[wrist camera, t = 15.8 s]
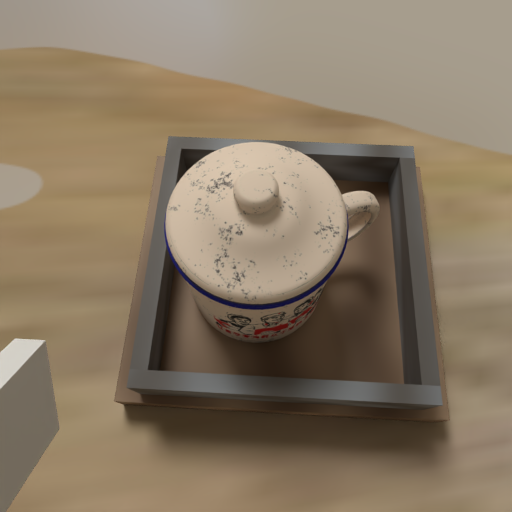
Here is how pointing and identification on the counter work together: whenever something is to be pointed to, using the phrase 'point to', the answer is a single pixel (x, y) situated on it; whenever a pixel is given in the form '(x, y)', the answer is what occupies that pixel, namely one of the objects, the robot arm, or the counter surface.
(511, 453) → the counter surface
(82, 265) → the counter surface
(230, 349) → the collar stand
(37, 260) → the counter surface
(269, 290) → the teacup with lid
